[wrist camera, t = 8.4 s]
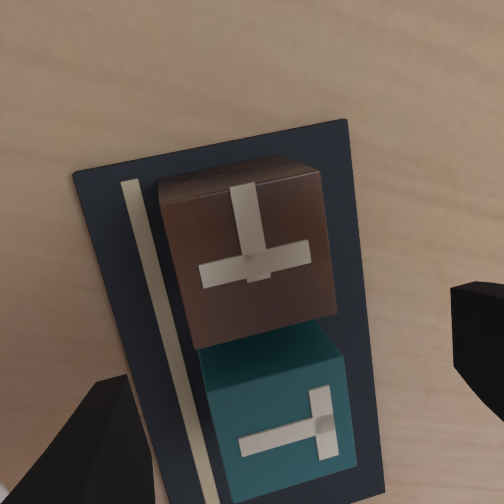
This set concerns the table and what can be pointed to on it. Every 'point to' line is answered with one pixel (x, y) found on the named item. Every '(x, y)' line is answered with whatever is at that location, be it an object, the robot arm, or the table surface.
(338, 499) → the word mat
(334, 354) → the teal letter tile
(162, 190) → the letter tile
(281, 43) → the table surface
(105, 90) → the table surface
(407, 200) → the table surface
